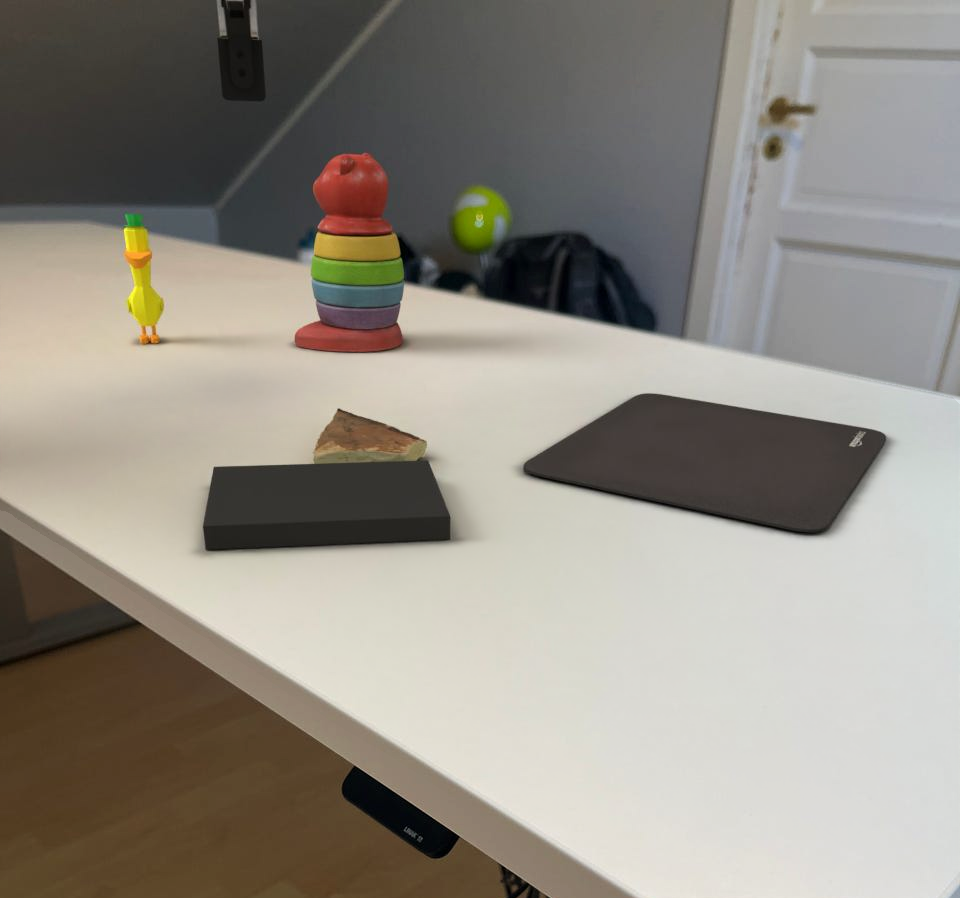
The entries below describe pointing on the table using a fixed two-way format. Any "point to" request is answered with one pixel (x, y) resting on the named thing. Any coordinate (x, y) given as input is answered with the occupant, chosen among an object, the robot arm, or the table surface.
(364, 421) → the shard
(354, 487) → the black rectangular block
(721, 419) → the mouse pad
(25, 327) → the table surface
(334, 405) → the table surface
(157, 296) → the toy figure
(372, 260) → the stacking bear
